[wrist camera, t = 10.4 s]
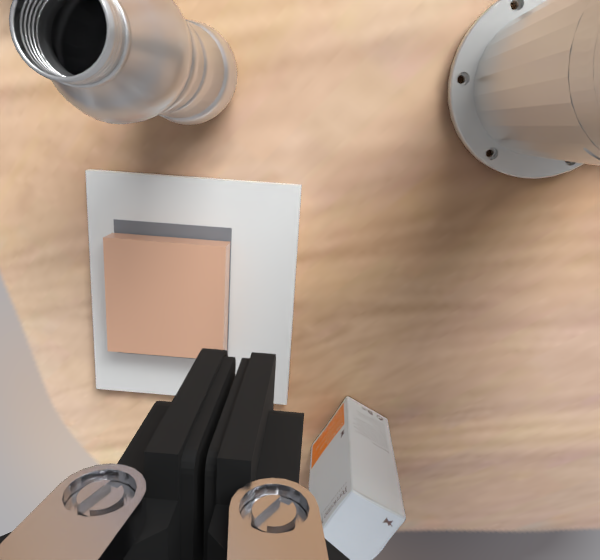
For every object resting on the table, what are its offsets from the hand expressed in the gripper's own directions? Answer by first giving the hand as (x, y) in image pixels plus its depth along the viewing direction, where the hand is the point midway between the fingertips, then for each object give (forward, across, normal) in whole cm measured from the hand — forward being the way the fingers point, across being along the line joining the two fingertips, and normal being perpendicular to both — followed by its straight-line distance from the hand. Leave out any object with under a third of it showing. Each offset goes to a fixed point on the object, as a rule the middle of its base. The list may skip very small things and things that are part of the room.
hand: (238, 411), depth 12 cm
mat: (+29, +8, +7) cm, 31 cm away
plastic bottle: (+29, +8, -9) cm, 32 cm away
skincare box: (+29, -5, +19) cm, 35 cm away
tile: (+27, +5, +7) cm, 28 cm away
